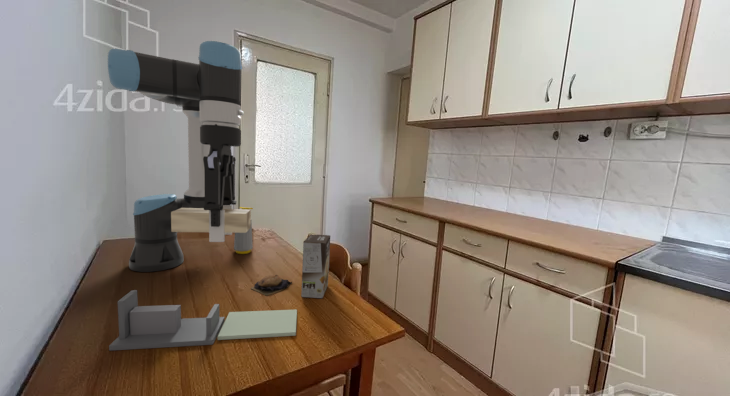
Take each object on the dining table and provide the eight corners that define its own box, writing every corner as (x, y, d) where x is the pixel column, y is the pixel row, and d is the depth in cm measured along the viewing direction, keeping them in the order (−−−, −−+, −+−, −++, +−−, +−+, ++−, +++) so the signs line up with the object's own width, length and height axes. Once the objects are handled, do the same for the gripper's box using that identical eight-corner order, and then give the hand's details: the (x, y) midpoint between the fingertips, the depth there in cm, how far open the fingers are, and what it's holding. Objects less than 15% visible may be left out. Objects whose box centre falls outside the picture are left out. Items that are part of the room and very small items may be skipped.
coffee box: (323, 299, 84) (325, 243, 82) (300, 297, 84) (302, 241, 82) (328, 285, 93) (330, 235, 91) (307, 283, 93) (309, 233, 91)
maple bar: (181, 226, 64) (181, 207, 64) (250, 227, 67) (250, 209, 66) (171, 231, 59) (170, 211, 59) (246, 232, 62) (246, 213, 61)
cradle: (135, 324, 67) (133, 286, 65) (224, 320, 70) (224, 284, 69) (109, 350, 58) (106, 306, 57) (213, 344, 61) (212, 303, 60)
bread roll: (267, 298, 83) (267, 286, 83) (248, 289, 88) (248, 277, 87) (295, 286, 92) (296, 274, 92) (276, 278, 97) (277, 267, 96)
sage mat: (229, 315, 73) (229, 312, 73) (296, 312, 76) (296, 309, 76) (217, 339, 63) (217, 336, 63) (295, 335, 66) (295, 332, 66)
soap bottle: (248, 255, 116) (249, 209, 113) (230, 253, 116) (230, 208, 113) (255, 249, 123) (256, 206, 120) (238, 248, 123) (238, 205, 120)
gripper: (228, 122, 53) (228, 250, 55) (249, 131, 70) (248, 228, 73) (181, 118, 51) (184, 250, 54) (215, 128, 69) (215, 227, 72)
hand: (221, 237), depth 64 cm, fingers closed on maple bar, 5 cm apart
